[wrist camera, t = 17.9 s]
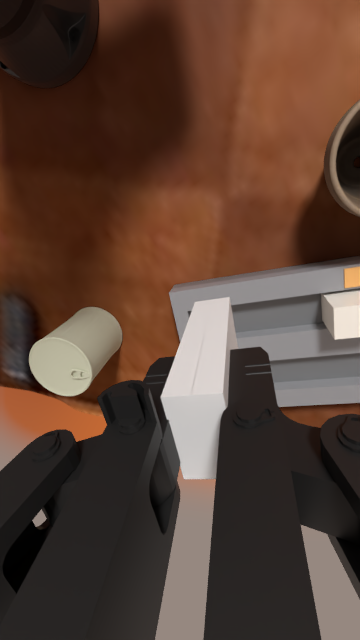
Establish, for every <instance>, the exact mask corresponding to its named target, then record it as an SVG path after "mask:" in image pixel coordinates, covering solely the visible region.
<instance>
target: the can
mask: <svg viewBox="0 0 360 640" xmlns="http://www.w3.org/2000/svg"><path fill="white" fill-rule="evenodd" d="M121 343H122V330H121V327H120V325H119V323H118V321H117V320H116V319H115V318H114V316H113V315H111V314H110V313H109V312H107V311H105V310H103V309H101V308H97V307H86V308H83V309H81V310H79V311H77V312H76V313H75V314H74V316H73V317H71V318H70V319H69V320H67V321H66V322H65V323H63V324H62V325H61V326H59V327H58V328H57V329H55V330H54V331H53V332H51V333H50V334H48V335H47V336H46V337H44V338H43V339H41V340H39V341H37V342H36V343H35V344H34V345H33V347H32V348H31V350H30V354H29V365H30V368H31V371H32V373H33V375H34V377H35V378H36V379H37V381H38V382H39V383H40V384H41V385H42V386H43V387H45V388H46V389H48V390H49V391H51V392H53V393H55V394H58V395H62V396H75V395H79V394H81V393H83V392H84V391H85V390H86V389H87V388H88V387H89V386H90V384H91V382H92V381H93V379H94V378H95V377H96V375H97V374H98V373H99V372H100V370H101V369H102V368H103V366H104V365H105V364H106V363H107V361H108V360H109V359H110V358H111V356H112V355H113V354H114V353H115V352H116V351H117V350H118V349H119V348H120V346H121Z"/></svg>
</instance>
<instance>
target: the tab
mask: <svg viewBox="0 0 360 640" xmlns="http://www.w3.org/2000/svg"><path fill="white" fill-rule="evenodd" d="M321 305H322V321H323V322H324V324H325V325H326V327H327V329H328V330H329V332H330V333H331V335H332V336H333V338H334V339H335V340H336V339H346V338H356V337H360V288H356V289H349V290H341V291H334V292H326V293H321Z"/></svg>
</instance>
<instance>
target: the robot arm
mask: <svg viewBox="0 0 360 640" xmlns="http://www.w3.org/2000/svg"><path fill="white" fill-rule="evenodd" d="M97 27H98V0H0V68H1V69H2V70H3V71H5V72H6V73H7V74H9V75H10V76H12V77H14V78H16V79H18V80H20V81H22V82H24V83H26V84H28V85H31V86H34V87H38V88H52V87H57V86H60V85H62V84H64V83H66V82H68V81H69V80H71V79H72V78H73V77H74V76H75V75H77V74H78V72H79V71H80V70H81V69H82V67H83V66H84V65H85V63H86V61H87V59H88V58H89V56H90V53H91V51H92V48H93V45H94V42H95V38H96V33H97ZM97 399H98V402H99V405H100V407H101V410H102V412H103V415H104V418H105V420H106V423H107V427H106V428H105V430H104V432H103V434H101V435H99V436H95V437H92V438H88V439H85V440H82V441H78V442H76V441H75V438H74V436H73V434H72V432H70V431H68V430H55V431H51V432H48V433H46V434H44V435H42V436H40V437H38V438H37V439H35V440H34V441H33V442H31V443H30V444H29V445H28V446H26V447H25V448H24V449H23V450H22V451H21V452H20V453H19V454H18V455H17V456H16V457H15V458H14V459H13V460H12V461H11V462H10V463H8V464H7V465H6V466H5V467H4V468H3V469H2V470H1V471H0V640H155V635H156V630H157V624H158V619H159V613H160V608H161V602H162V596H163V591H164V586H165V580H166V574H167V569H168V563H169V557H170V552H171V547H172V541H173V535H174V530H175V524H176V518H177V513H178V508H179V502H180V489H179V486H178V482H177V477H178V472H179V467H181V470H182V474H183V478H184V479H216V485H215V498H214V511H213V524H212V537H211V550H210V563H209V576H208V589H207V602H206V615H205V628H204V629H205V630H204V640H321V636H320V630H319V625H318V619H317V613H316V609H315V602H314V597H313V592H312V586H311V580H310V575H309V569H308V564H307V558H306V553H305V548H304V542H303V536H302V531H301V525H304V526H307V527H309V528H313V529H315V530H318V531H321V532H324V533H326V534H328V537H329V539H330V541H331V543H332V545H333V547H334V549H335V551H336V553H337V555H338V557H339V559H340V561H341V563H342V565H343V567H344V569H345V571H346V573H347V575H348V577H349V578H350V581H351V583H352V585H353V587H354V589H355V591H356V593H357V594H358V597H359V598H360V415H357V414H344V415H338V416H335V417H333V418H330V419H328V420H327V421H326V422H325V423H324V424H323V425H322V427H321V428H318V427H312V426H307V425H304V424H300V423H297V422H295V421H293V420H291V419H289V418H288V417H286V416H285V415H284V414H283V413H282V412H281V411H280V409H279V407H278V404H277V399H276V394H275V388H274V383H273V377H272V372H271V366H270V360H269V355H268V353H267V352H266V351H265V350H264V349H263V348H261V347H251V348H241V349H238V345H237V339H236V333H235V327H234V321H233V314H232V308H231V302H230V297H226V298H219V299H212V300H205V301H198V302H195V303H194V306H193V309H192V312H191V314H190V317H189V320H188V323H187V326H186V328H185V331H184V334H183V337H182V339H181V342H180V345H179V348H178V350H177V353H176V356H174V357H165V358H159V359H158V360H157V361H156V362H154V363H153V364H152V365H151V366H150V368H149V370H148V372H147V374H146V377H145V378H144V380H143V382H142V381H140V380H129V381H124V382H120V383H118V384H115V385H113V386H111V387H109V388H108V389H106V390H105V391H103V392H102V393H101V395H100V396H99V397H98V398H97ZM41 509H42V511H43V512H44V514H45V516H46V518H47V519H46V521H45V522H44V523H42V524H41V525H40V526H38V527H35V525H34V523H33V521H32V520H33V519H34V517H35V516H36V515H37V513H38V512H39V511H40V510H41ZM300 524H301V525H300Z"/></svg>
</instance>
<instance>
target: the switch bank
mask: <svg viewBox="0 0 360 640" xmlns="http://www.w3.org/2000/svg"><path fill="white" fill-rule="evenodd" d="M356 288H360V256H354V257H348V258H342V259H335V260H329V261H323V262H316V263H310V264H304V265H297V266H291V267H284V268H278V269H272V270H265V271H259V272H253V273H246V274H240V275H234V276H227V277H221V278H215V279H208V280H202V281H196V282H189V283H183V284H177V285H174V286H173V288H172V289H171V291H170V292H169V295H170V299H171V304H172V308H173V313H174V317H175V321H176V326H177V330H178V335H179V339H180V342H181V339H182V337H183V334H184V331H185V328H186V326H187V323H188V320H189V317H190V314H191V312H192V309H193V306H194V303H195V302H198V301H205V300H212V299H219V298H226V297H230V302H231V308H232V314H233V321H234V327H235V333H236V339H237V345H238V349H241V348H251V347H261V348H263V349H264V350H265V351H266V352H267V353H268V355H269V360H270V366H271V372H272V377H273V383H274V388H275V394H276V399H277V404H278V407H288V406H307V405H326V404H345V403H360V337H356V338H346V339H336V340H335V339H334V338H333V336H332V335H331V333H330V332H329V330H328V329H327V327H326V325H325V324H324V322H323V321H322V305H321V293H326V292H334V291H341V290H349V289H356Z"/></svg>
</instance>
